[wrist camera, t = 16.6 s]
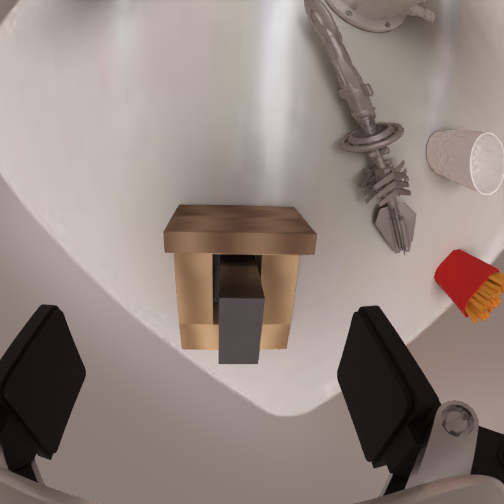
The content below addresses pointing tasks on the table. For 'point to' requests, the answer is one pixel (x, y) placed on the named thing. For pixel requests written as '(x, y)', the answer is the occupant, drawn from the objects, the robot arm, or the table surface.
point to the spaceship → (368, 135)
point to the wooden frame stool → (241, 243)
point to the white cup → (468, 158)
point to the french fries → (470, 284)
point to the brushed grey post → (240, 309)
